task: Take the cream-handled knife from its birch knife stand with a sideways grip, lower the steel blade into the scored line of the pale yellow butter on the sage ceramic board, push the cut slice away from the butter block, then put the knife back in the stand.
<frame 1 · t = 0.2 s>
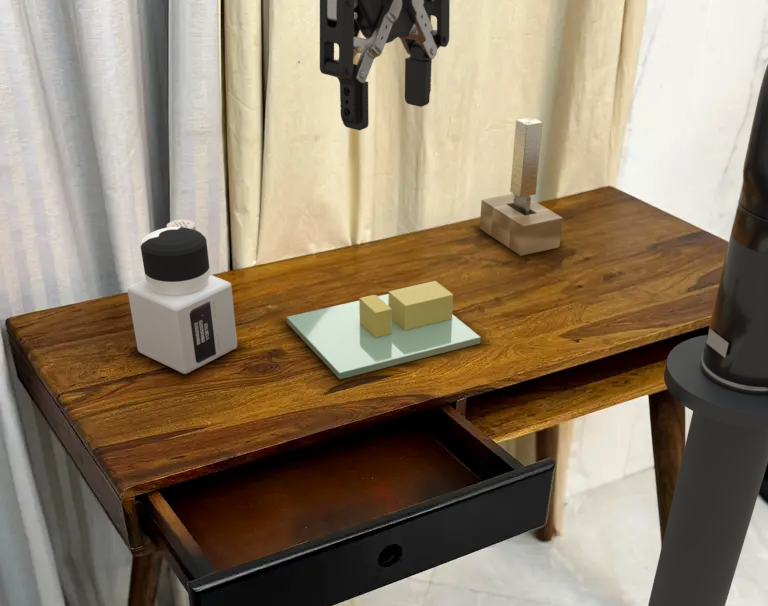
hand: (387, 115, 84), 27 cm above the table, tool pointing down, fingers open, 8 cm apart
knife: (523, 181, 125), in the knife stand
butter block: (420, 317, 110), point 1 cm above the table, touching butter board
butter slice: (375, 328, 108), point 1 cm above the table, touching butter board
butter board: (382, 333, 109), on the table
knife stand: (518, 237, 130), on the table
container: (188, 352, 106), on the table
salt shaker: (191, 305, 115), on the table
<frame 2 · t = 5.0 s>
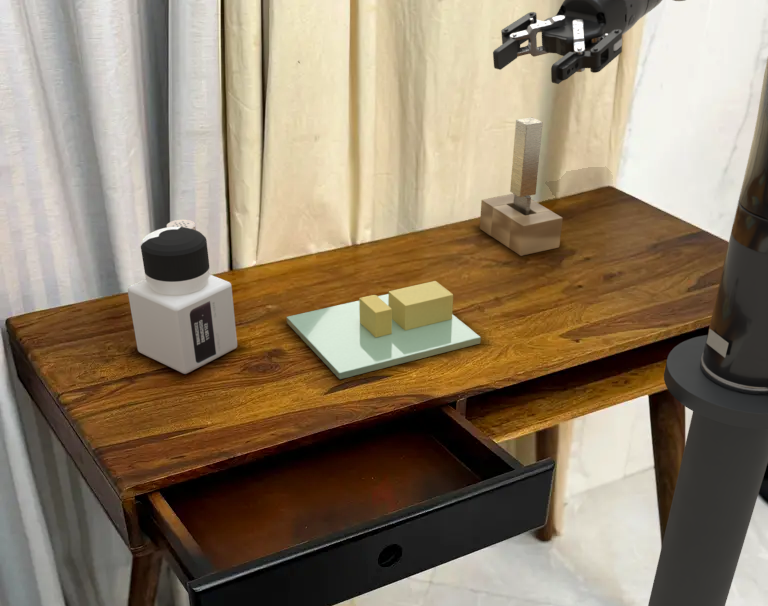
hand: (524, 68, 116), 21 cm above the table, tool horizontal, fingers open, 8 cm apart
nothing on the table moved.
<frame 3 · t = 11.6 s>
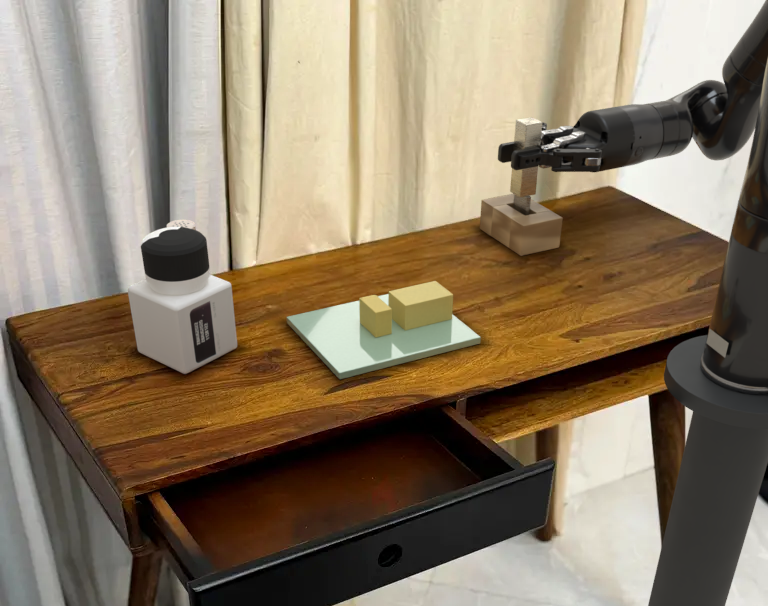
hand: (506, 157, 122), 11 cm above the table, tool horizontal, fingers closed on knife, 2 cm apart
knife: (523, 181, 125), in the knife stand, touching gripper
everything else where it was.
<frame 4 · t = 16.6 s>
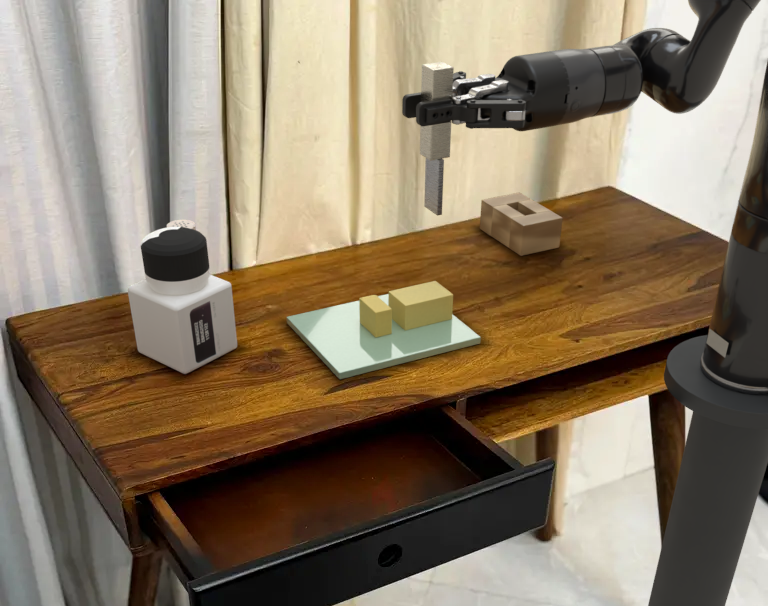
hand: (411, 110, 100), 22 cm above the table, tool horizontal, fingers closed on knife, 2 cm apart
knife: (435, 141, 104), point 18 cm above the table, touching gripper
everything else where it was.
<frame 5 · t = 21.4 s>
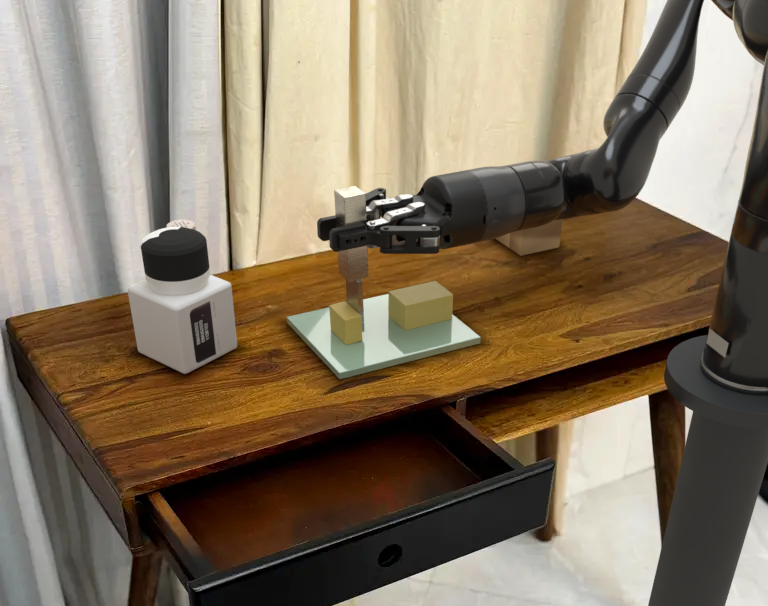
hand: (325, 235, 99), 12 cm above the table, tool horizontal, fingers closed on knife, 2 cm apart
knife: (353, 262, 102), point 9 cm above the table, touching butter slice, gripper
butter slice: (346, 335, 107), point 1 cm above the table, touching butter board, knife
everything else where it was.
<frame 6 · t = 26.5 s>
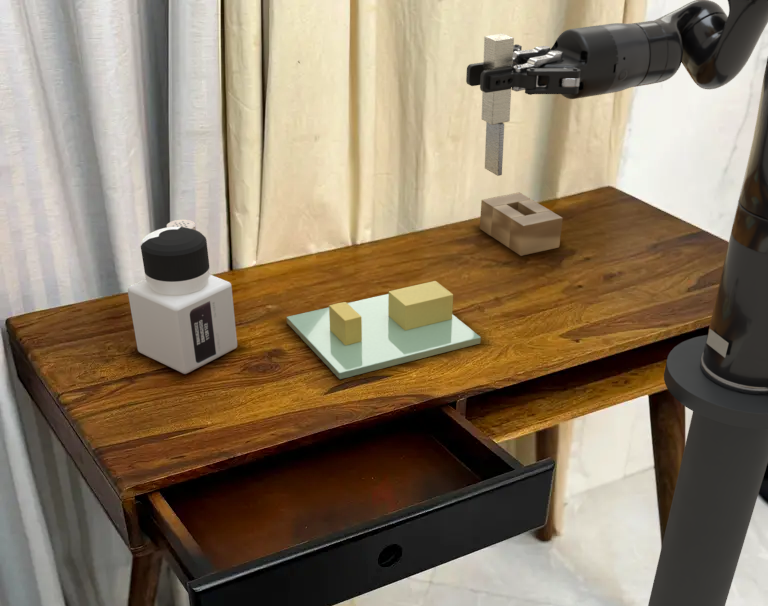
hand: (475, 78, 110), 22 cm above the table, tool horizontal, fingers closed on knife, 2 cm apart
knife: (496, 107, 113), point 18 cm above the table, touching gripper
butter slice: (345, 335, 107), point 1 cm above the table, touching butter board
everything else where it was.
when the fingers open (11 cm above the table, at t = 30.8 s): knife stays where it is, resting in knife stand.
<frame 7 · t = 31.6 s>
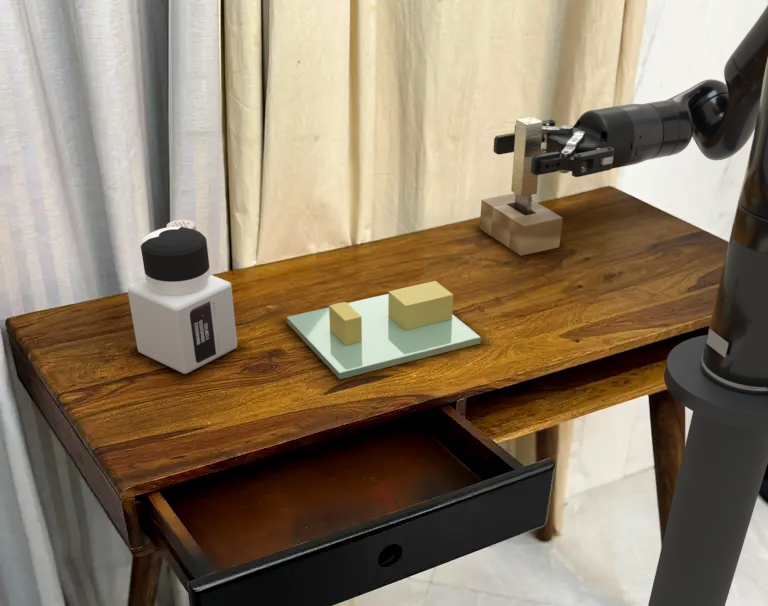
hand: (513, 155, 122), 11 cm above the table, tool horizontal, fingers open, 8 cm apart
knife: (524, 181, 126), in the knife stand
everything else where it was.
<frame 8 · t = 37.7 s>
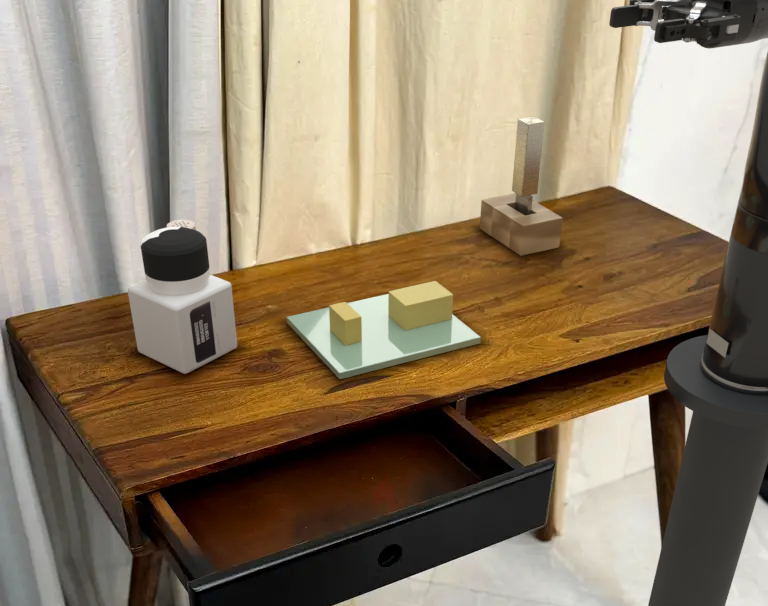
hand: (633, 25, 117), 25 cm above the table, tool horizontal, fingers open, 8 cm apart
nothing on the table moved.
at the end: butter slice moved 3.7 cm from its start; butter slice touching butter board; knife 0.3 cm off-centre on the knife stand, point 7.5 cm above the knife stand's base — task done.
